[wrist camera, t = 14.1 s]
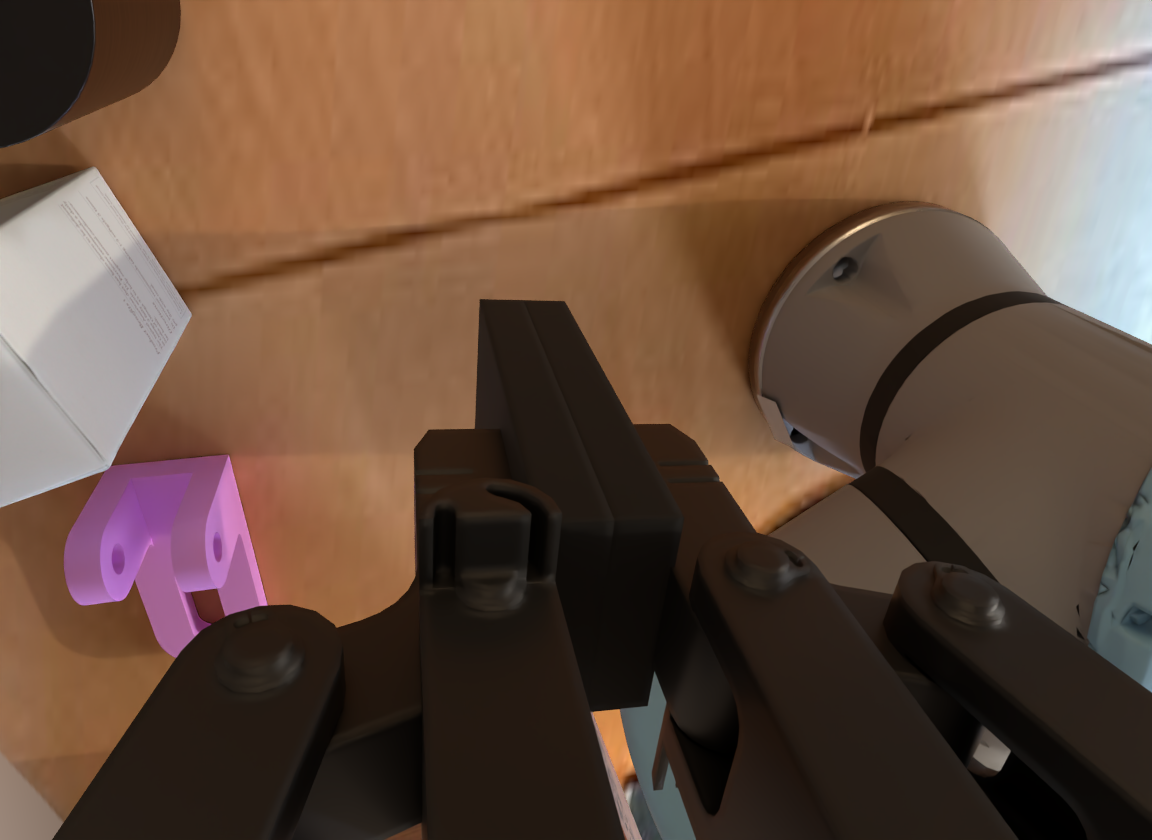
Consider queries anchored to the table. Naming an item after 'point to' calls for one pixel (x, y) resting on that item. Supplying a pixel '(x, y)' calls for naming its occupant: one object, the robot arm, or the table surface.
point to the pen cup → (77, 58)
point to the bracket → (165, 544)
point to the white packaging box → (75, 332)
